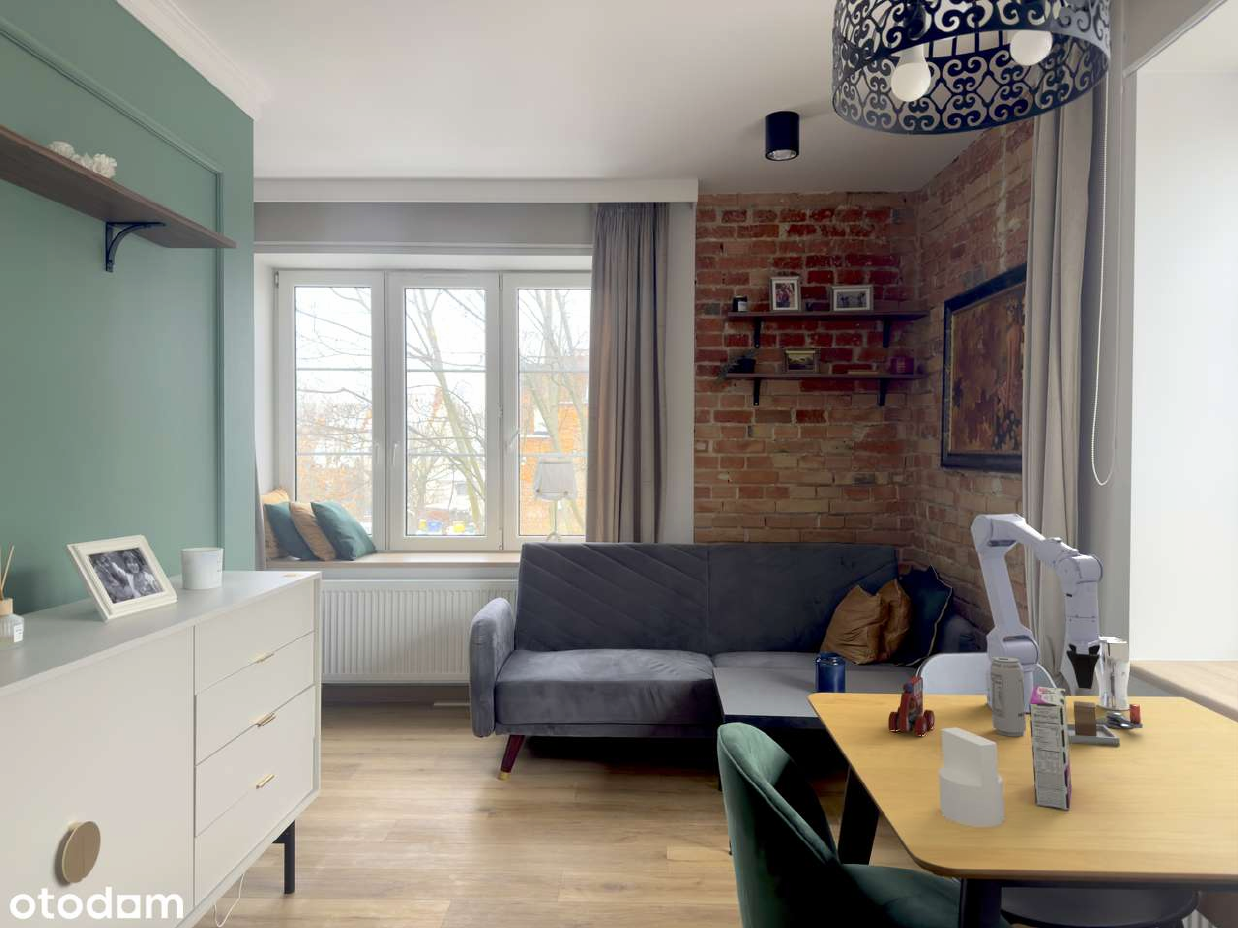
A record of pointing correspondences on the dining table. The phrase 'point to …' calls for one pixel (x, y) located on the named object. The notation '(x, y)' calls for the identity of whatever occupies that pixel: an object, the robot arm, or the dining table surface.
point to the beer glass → (1113, 674)
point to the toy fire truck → (912, 710)
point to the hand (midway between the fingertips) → (1085, 683)
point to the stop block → (1085, 718)
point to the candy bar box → (1050, 747)
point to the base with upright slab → (970, 780)
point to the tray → (1102, 738)
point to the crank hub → (1112, 723)
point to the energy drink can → (1008, 696)
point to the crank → (1134, 717)
